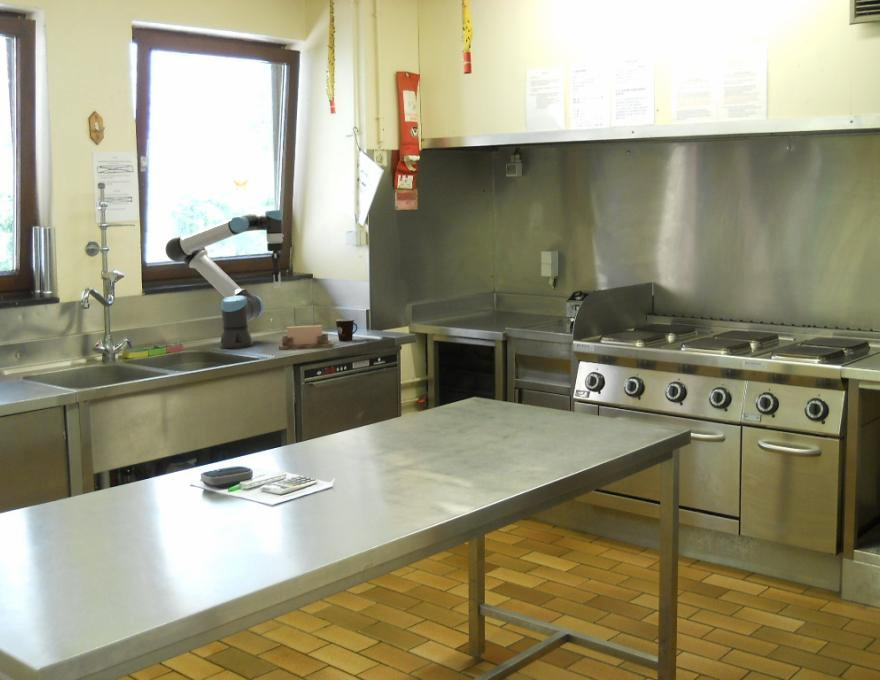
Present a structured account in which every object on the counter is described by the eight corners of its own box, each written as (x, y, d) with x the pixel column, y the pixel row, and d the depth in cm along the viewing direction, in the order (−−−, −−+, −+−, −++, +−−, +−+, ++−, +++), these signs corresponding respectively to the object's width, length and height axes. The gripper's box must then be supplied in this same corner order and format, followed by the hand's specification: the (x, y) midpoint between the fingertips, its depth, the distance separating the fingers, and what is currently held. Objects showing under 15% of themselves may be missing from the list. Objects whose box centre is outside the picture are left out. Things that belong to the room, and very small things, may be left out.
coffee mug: (334, 340, 496) (333, 319, 494) (351, 338, 499) (350, 318, 498) (342, 343, 485) (341, 322, 484) (359, 341, 489) (358, 320, 488)
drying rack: (279, 350, 471) (278, 339, 471) (280, 346, 483) (279, 335, 482) (331, 347, 474) (331, 336, 473) (331, 343, 486) (330, 333, 485)
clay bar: (287, 344, 476) (286, 327, 475) (288, 343, 479) (287, 326, 478) (322, 343, 478) (321, 326, 477) (322, 342, 481) (321, 325, 480)
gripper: (282, 243, 475) (284, 289, 478) (283, 240, 499) (286, 284, 503) (265, 244, 474) (268, 290, 477) (268, 241, 499) (270, 284, 502)
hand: (277, 287), depth 490 cm, fingers open, 13 cm apart
